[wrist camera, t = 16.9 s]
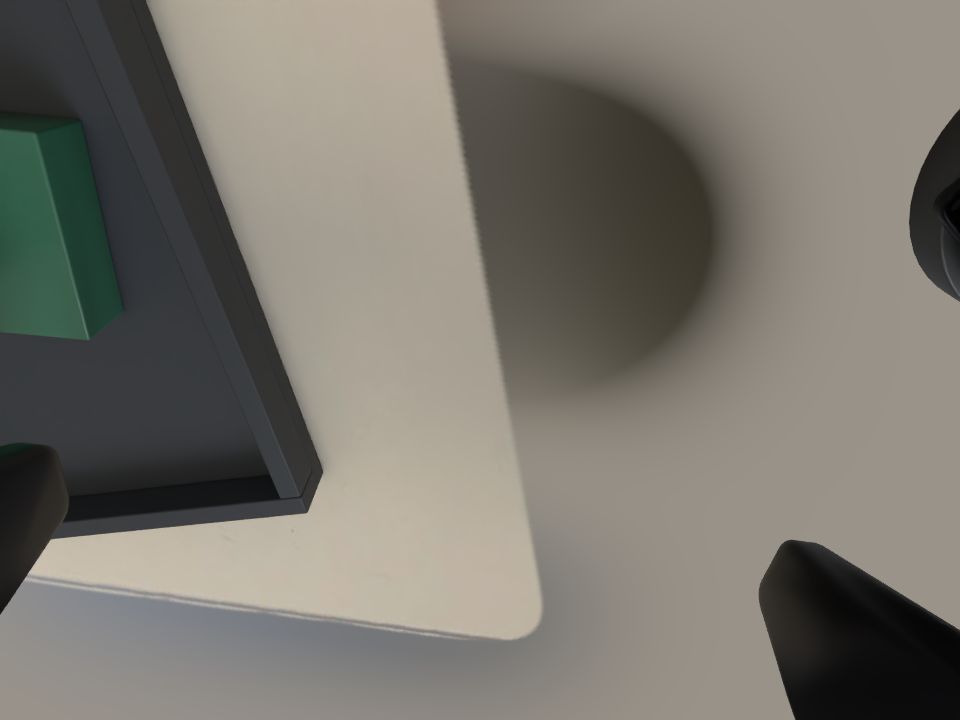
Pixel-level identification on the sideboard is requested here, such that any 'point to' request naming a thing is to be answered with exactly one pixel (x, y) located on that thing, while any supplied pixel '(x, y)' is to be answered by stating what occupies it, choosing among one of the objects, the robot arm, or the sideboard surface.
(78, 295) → the brown post on base
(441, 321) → the sideboard surface
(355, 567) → the sideboard surface
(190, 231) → the tray
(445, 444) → the sideboard surface
